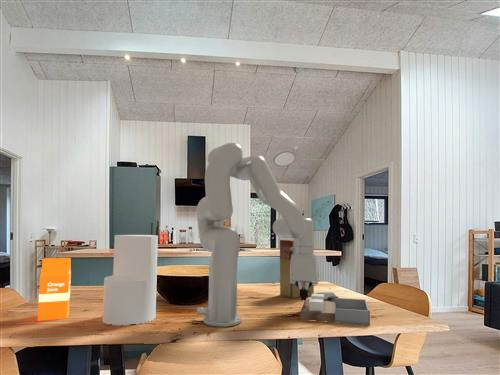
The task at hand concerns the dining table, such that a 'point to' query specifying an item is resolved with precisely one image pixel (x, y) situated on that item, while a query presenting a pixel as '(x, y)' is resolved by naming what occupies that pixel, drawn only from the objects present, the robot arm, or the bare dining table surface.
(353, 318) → the tray
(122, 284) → the white stepped block
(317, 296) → the tile
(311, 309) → the white rectangular block
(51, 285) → the orange juice
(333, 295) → the cleaver
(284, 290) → the food packaging
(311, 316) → the board
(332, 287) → the dining table surface
